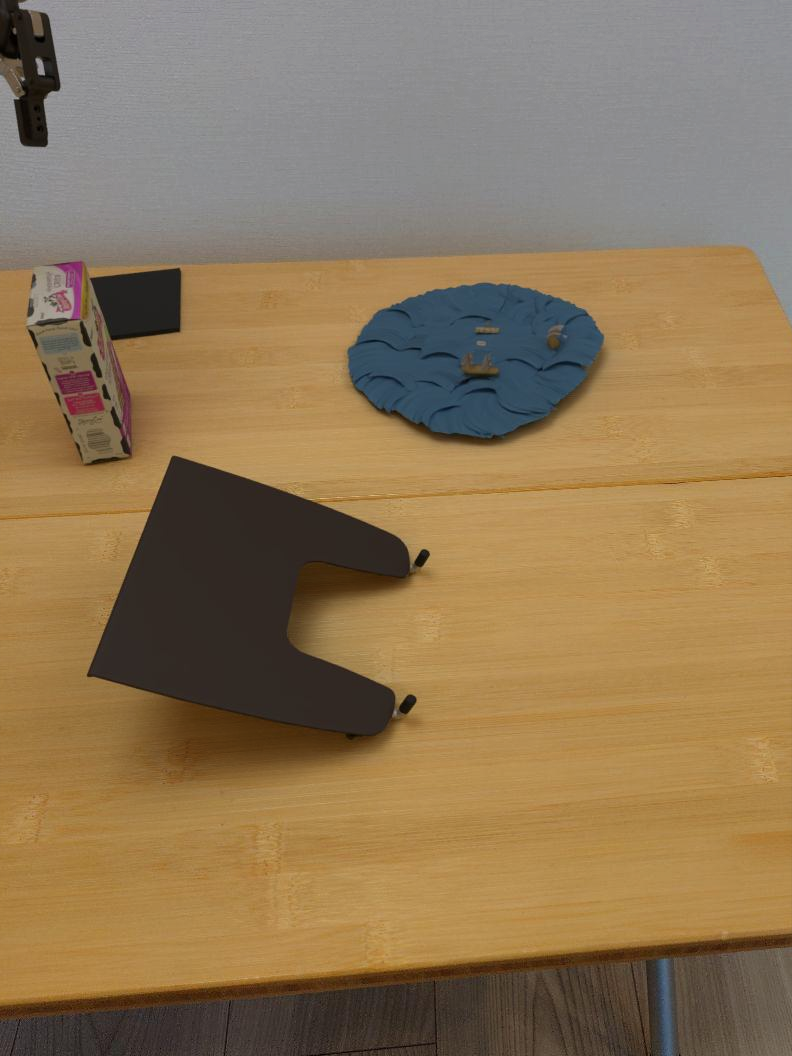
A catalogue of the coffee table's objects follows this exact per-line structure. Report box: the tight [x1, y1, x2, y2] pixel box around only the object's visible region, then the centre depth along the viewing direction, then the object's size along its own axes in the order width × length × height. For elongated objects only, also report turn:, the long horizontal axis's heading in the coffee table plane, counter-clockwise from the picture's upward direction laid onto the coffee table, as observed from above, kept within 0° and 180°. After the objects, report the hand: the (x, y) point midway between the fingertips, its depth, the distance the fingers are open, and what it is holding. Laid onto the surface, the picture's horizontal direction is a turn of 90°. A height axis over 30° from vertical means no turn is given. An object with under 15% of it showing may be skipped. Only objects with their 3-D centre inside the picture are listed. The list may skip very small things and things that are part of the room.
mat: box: [90, 267, 182, 341], centre depth 116 cm, size 12×14×1 cm
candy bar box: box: [25, 260, 132, 465], centre depth 94 cm, size 11×5×16 cm, turn 17°
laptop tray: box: [86, 455, 431, 741], centre depth 78 cm, size 23×23×9 cm
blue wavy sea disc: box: [347, 282, 605, 439], centre depth 107 cm, size 30×30×5 cm
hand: (3, 144), depth 84 cm, fingers open, 8 cm apart
